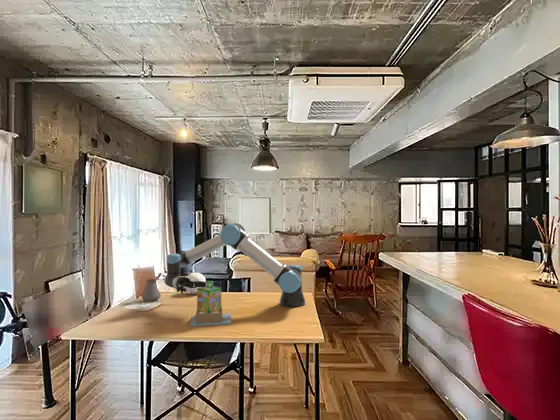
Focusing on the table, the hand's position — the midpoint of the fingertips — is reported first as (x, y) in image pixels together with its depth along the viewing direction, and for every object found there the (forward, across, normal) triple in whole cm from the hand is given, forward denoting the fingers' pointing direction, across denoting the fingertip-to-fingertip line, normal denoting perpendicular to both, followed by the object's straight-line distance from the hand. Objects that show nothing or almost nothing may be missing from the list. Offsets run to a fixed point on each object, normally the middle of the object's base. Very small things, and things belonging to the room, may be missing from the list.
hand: (201, 288), depth 208 cm
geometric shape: (-55, -28, -16) cm, 64 cm away
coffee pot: (-61, -2, -16) cm, 63 cm away
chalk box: (+7, 0, -10) cm, 12 cm away
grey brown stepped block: (+7, -1, -16) cm, 17 cm away
